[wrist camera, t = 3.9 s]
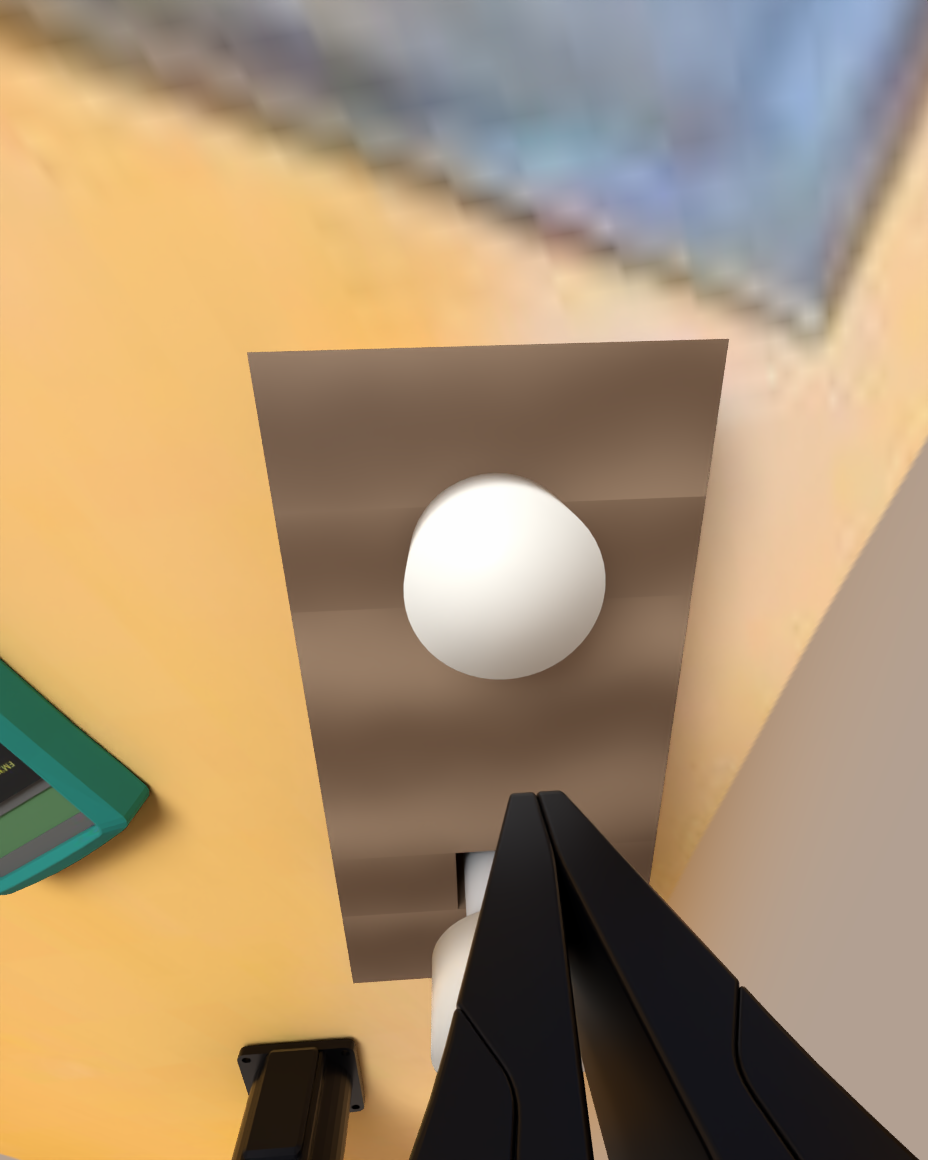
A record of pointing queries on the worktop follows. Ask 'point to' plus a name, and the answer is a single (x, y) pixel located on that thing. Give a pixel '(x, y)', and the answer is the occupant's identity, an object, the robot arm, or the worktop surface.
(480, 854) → the far knob
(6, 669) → the digital multimeter
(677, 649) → the brown wooden board
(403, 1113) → the worktop surface
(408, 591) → the near knob
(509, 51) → the worktop surface
